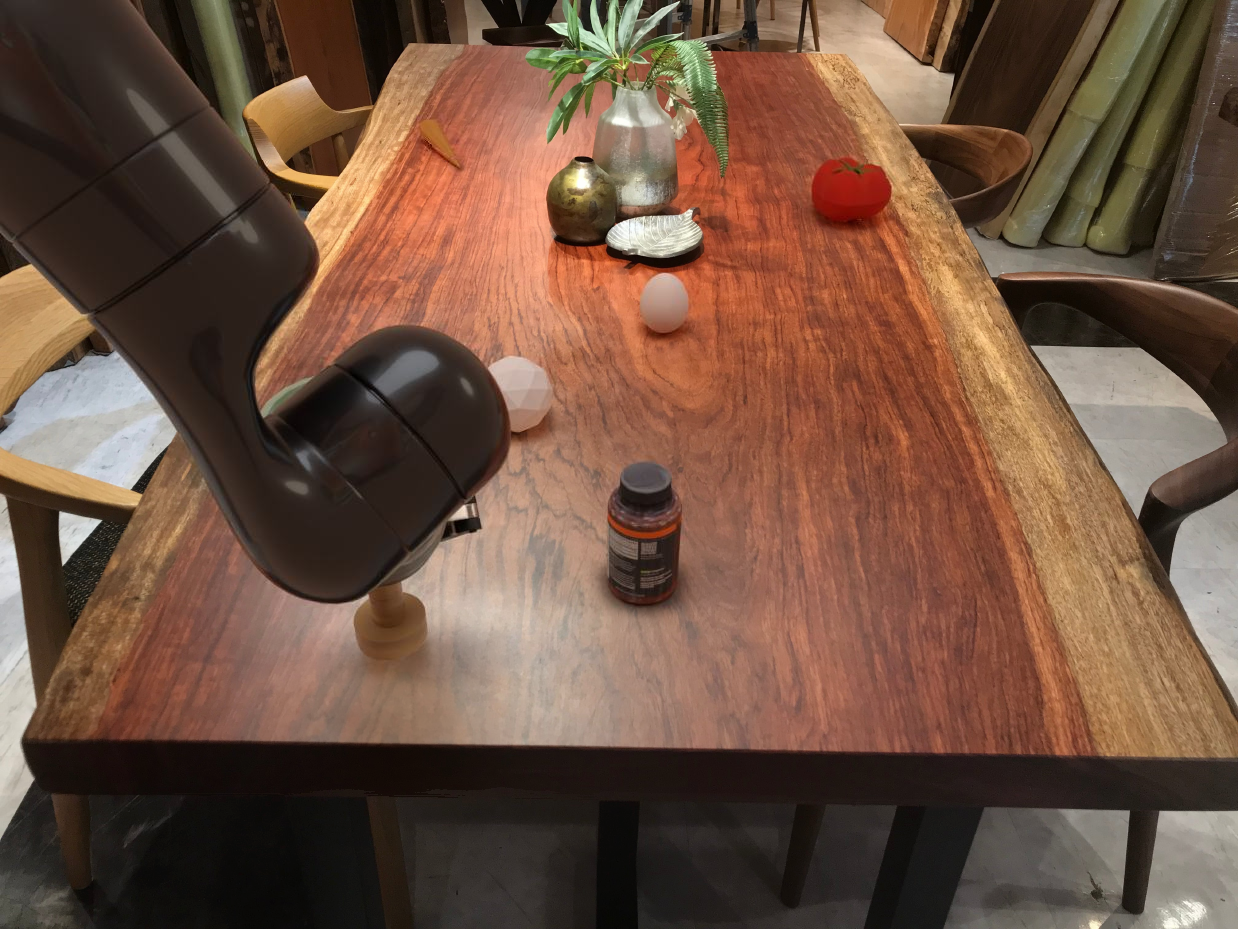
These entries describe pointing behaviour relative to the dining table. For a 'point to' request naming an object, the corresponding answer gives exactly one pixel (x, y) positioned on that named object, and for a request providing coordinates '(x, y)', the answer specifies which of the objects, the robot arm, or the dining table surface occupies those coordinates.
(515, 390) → the geometric ball
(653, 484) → the supplement bottle
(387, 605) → the wooden peg on base
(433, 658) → the dining table surface
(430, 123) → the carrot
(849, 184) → the tomato
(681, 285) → the egg
